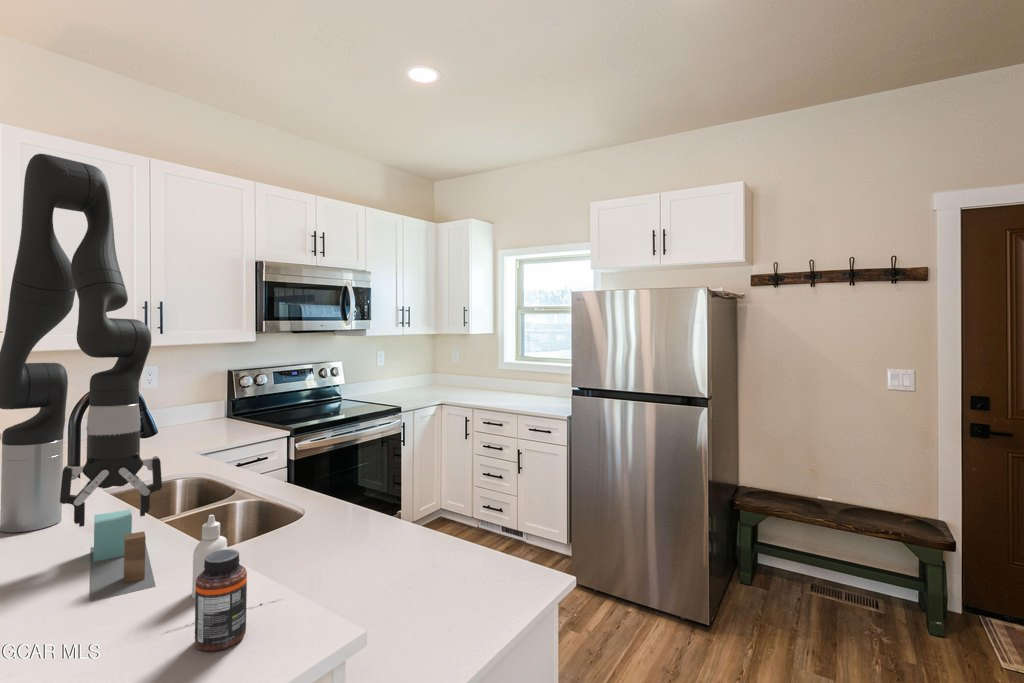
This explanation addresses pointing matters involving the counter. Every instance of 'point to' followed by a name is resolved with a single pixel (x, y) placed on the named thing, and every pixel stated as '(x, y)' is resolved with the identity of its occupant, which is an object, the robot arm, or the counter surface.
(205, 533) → the eye dropper bottle
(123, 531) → the teal rectangular block
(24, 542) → the counter surface
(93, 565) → the mat
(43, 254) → the robot arm
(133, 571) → the post
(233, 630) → the supplement bottle
